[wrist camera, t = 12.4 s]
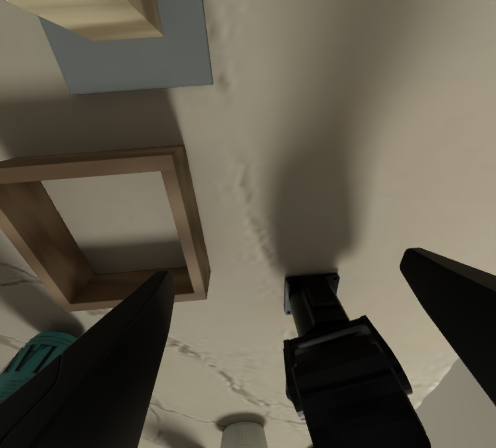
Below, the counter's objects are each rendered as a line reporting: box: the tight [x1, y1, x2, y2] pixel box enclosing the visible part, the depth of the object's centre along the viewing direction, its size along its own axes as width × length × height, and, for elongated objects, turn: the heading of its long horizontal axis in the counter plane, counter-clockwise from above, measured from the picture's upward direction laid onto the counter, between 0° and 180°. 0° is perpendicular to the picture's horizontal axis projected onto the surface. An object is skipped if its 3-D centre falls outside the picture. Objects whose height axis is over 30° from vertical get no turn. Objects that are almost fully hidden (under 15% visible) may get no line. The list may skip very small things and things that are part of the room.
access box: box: [0, 145, 211, 312], centre depth 19 cm, size 14×14×4 cm
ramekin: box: [220, 422, 268, 448], centre depth 46 cm, size 11×11×5 cm
